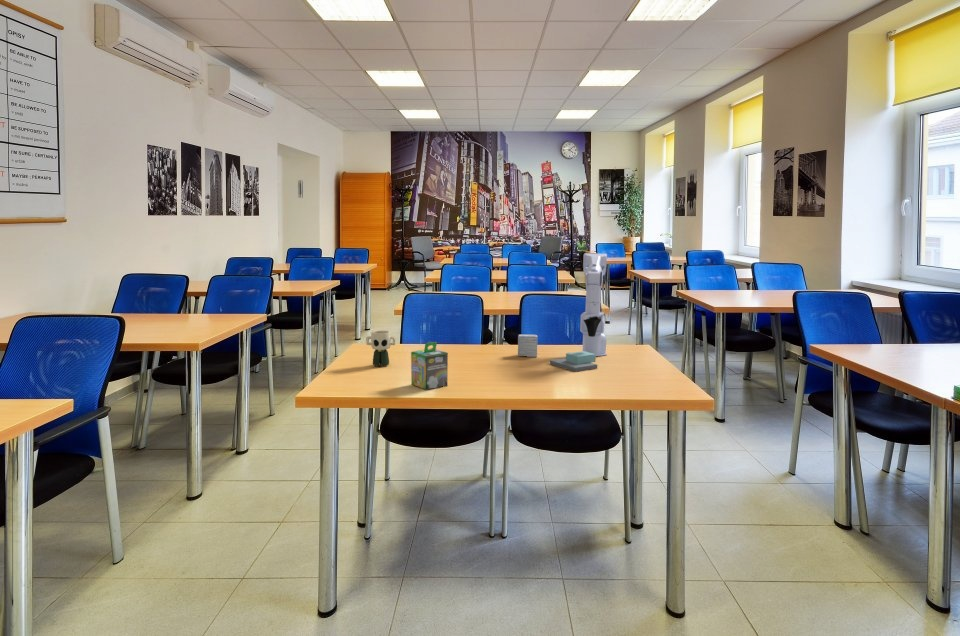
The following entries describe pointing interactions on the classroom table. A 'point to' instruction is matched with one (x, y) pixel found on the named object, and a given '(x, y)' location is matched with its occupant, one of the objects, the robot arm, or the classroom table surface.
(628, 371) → the classroom table surface
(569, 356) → the teal slab
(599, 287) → the robot arm
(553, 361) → the rubber pad
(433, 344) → the chalk box
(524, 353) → the medicine box
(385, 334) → the character mug
